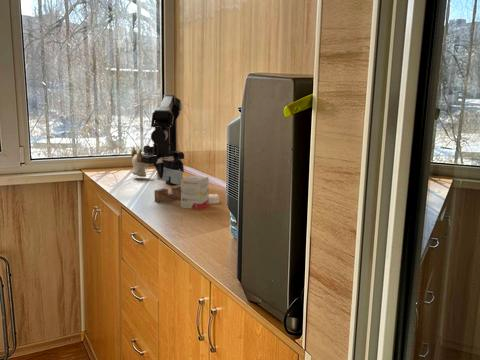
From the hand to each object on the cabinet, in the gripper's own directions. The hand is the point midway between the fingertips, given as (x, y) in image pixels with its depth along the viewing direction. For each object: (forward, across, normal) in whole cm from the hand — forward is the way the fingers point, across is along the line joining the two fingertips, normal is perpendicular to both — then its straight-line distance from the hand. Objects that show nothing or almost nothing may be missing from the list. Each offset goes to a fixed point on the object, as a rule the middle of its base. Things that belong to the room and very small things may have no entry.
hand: (163, 177), depth 203 cm
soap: (+9, -9, +17) cm, 21 cm away
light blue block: (+1, 0, +4) cm, 4 cm away
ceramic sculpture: (+9, -18, -39) cm, 44 cm away
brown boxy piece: (+9, 0, +4) cm, 10 cm away
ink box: (+9, 0, +19) cm, 21 cm away
